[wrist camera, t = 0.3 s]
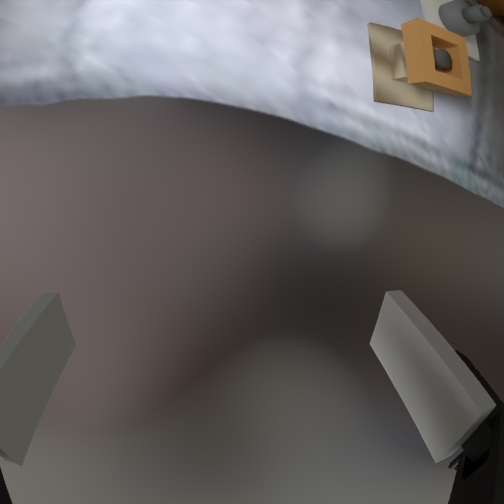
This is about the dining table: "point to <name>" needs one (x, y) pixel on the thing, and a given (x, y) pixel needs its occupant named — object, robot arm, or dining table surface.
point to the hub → (457, 19)
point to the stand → (398, 69)
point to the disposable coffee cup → (494, 6)
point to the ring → (422, 58)
